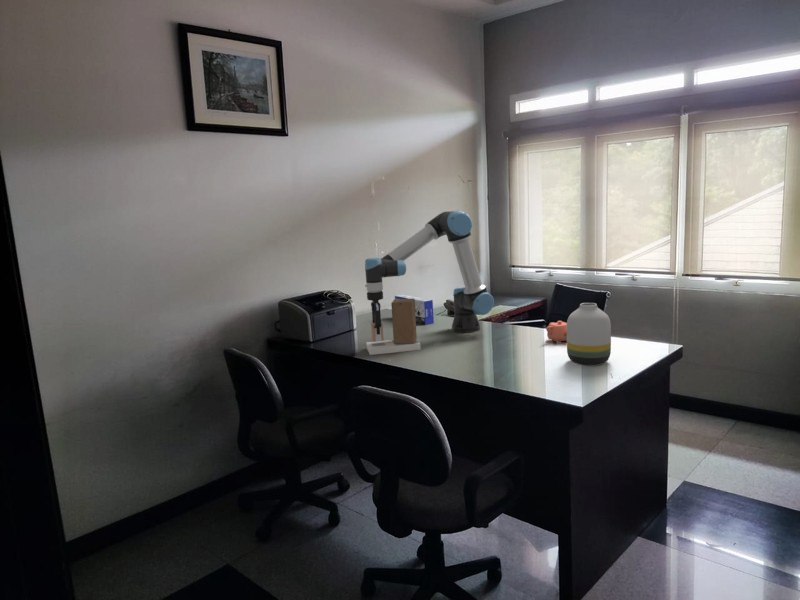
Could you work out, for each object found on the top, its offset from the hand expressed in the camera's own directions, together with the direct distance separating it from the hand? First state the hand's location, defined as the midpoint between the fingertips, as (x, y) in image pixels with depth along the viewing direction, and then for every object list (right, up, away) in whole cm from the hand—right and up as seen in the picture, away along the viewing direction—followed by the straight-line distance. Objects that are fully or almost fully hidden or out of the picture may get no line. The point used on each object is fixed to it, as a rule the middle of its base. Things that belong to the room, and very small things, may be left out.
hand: (377, 339), depth 265 cm
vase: (+87, -7, -38) cm, 95 cm away
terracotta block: (0, 0, 0) cm, 0 cm away
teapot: (+86, -1, -2) cm, 86 cm away
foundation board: (+7, -5, +2) cm, 9 cm away
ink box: (+19, +6, +66) cm, 69 cm away
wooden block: (+13, -1, +3) cm, 14 cm away
